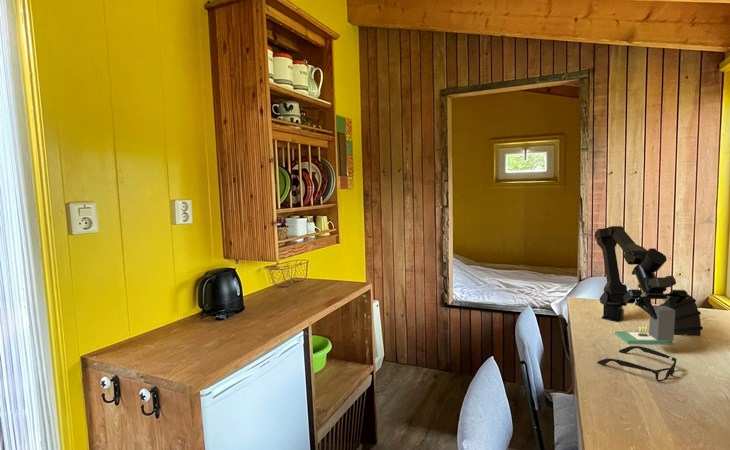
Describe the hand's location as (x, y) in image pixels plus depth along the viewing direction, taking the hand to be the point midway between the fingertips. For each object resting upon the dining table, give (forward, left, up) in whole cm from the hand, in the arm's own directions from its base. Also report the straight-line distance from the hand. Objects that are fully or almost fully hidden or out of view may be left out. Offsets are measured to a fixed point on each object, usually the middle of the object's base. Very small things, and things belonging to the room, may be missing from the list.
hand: (664, 319), depth 135 cm
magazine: (-1, +24, -12) cm, 27 cm away
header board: (-8, +8, -12) cm, 17 cm away
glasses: (-2, -18, -13) cm, 22 cm away
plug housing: (-1, +1, -7) cm, 7 cm away
